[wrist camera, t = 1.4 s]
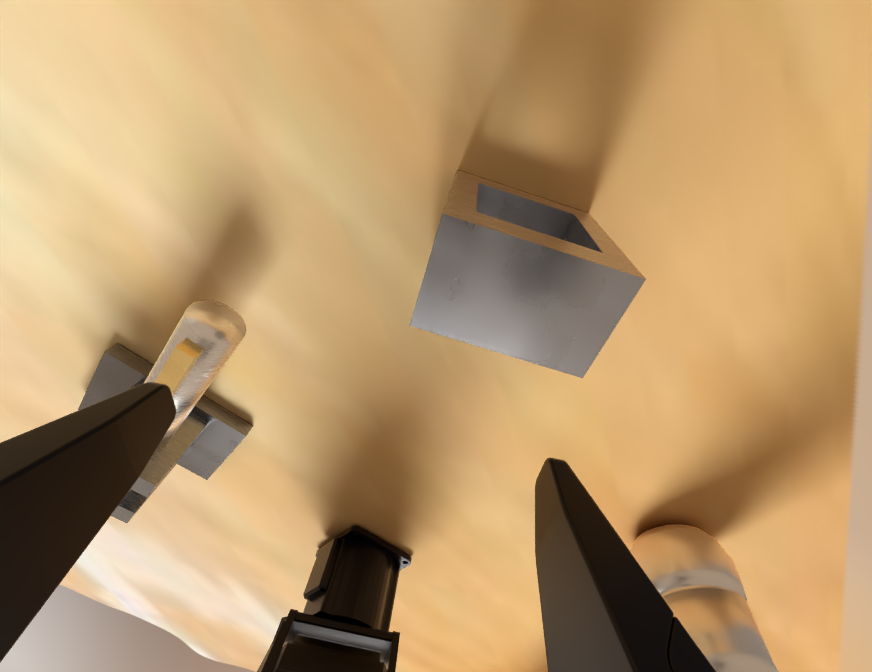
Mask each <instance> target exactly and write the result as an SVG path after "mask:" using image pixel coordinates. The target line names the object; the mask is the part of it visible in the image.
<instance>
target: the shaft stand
mask: <svg viewBox="0 0 872 672" xmlns="http://www.w3.org/2000/svg"><path fill="white" fill-rule="evenodd" d="M245 334H246V325H245V322H244V320H243V319H242V317H241V316H240V315H239V314H238V313H237V312H236V311H235V310H233V309H232V308H230V307H229V306H227V305H225V304H223V303H220V302H216V301H211V300H201V301H196V302H194V303H192V304H190V305H189V306H188V307H187V309H186V311H185V312H184V314H183V316H182V318H181V319H180V321H179V323H178V324H177V326H176V328H175V330H174V331H173V333H172V335H171V337H170V338H169V340H168V342H167V344H166V345H165V347H164V349H163V351H162V352H161V354H160V356H159V358H158V359H157V361H156V363H155V364H154V365H152V364H151V363H149V362H147V361H146V360H144V359H143V358H141V357H139V356H138V355H136V354H134V353H133V352H131V351H129V350H128V349H126V348H125V347H123V346H121V345H120V344H118V343H117V344H115V345H114V346H112V347H111V348H110V349H108V350H107V351H105V352H104V354H103V357H102V359H101V361H100V363H99V365H98V367H97V370H96V372H95V374H94V376H93V378H92V380H91V383H90V385H89V387H88V389H87V391H86V393H85V396H84V398H83V400H82V402H81V404H80V406H79V409H78V410H81V409H84V408H86V407H88V406H91V405H93V404H96V403H98V402H101V401H103V400H105V399H108V398H110V397H113V396H115V395H118V394H120V393H122V392H125V391H127V390H130V389H132V388H134V387H137V386H139V385H142V384H144V383H147V382H155V383H160V384H165V385H167V386H168V387H169V388H170V390H171V393H172V396H173V400H174V403H175V407H176V416H175V419H174V421H173V423H172V424H171V426H170V428H169V429H168V431H167V432H166V434H165V436H164V437H163V439H162V441H161V442H160V444H159V446H158V447H157V449H156V451H155V452H154V454H153V456H152V457H151V459H150V460H149V462H148V464H147V465H146V467H145V469H144V470H143V472H142V473H141V475H140V476H139V478H138V479H137V481H136V482H135V483H134V485H133V486H132V488H131V489H130V490H129V492H128V493H127V494H126V496H125V497H124V498H123V500H122V501H121V502H120V504H119V505H118V506H117V508H116V509H115V510H114V512H113V513H112V514H111V516H113V517H115V518H117V519H119V520H121V521H123V522H125V523H128V522H129V521H130V519H131V518H132V517H133V516H134V515H135V513H136V512H137V511H138V510H139V509H140V507H141V506H142V505H143V504H144V503H145V501H146V500H147V499H148V498H149V497H150V495H151V494H152V493H153V492H154V490H155V489H156V488H157V487H158V486H159V484H160V483H161V482H162V481H163V480H164V478H165V477H166V476H167V475H168V474H169V472H170V471H171V470H172V469H173V468H174V466H175V465H176V464H179V465H180V466H182V467H184V468H186V469H188V470H190V471H191V472H193V473H195V474H197V475H199V476H201V477H203V478H204V479H206V480H207V479H208V478H209V477H210V476H211V475H212V474H213V473H214V471H215V470H216V469H217V468H218V467H219V466H220V465H221V464H222V462H223V461H224V460H225V459H226V458H227V457H228V456H229V455H230V454H231V452H232V451H233V450H234V449H235V448H236V447H237V446H238V445H239V443H240V442H241V441H242V440H243V439H244V438H245V437H246V435H247V434H248V432H249V431H250V430H251V428H252V427H253V426H252V425H251V424H249V423H248V422H246V421H244V420H243V419H241V418H239V417H238V416H236V415H234V414H233V413H231V412H229V411H228V410H226V409H225V408H223V407H221V406H220V405H218V404H216V403H215V402H213V401H211V400H210V399H208V398H207V397H205V396H203V394H204V392H205V391H206V389H207V388H208V387H209V385H210V384H211V383H212V381H213V380H214V378H215V377H216V376H217V374H218V373H219V371H220V370H221V369H222V367H223V366H224V364H225V363H226V362H227V360H228V359H229V357H230V356H231V355H232V353H233V352H234V350H235V349H236V348H237V346H238V345H239V343H240V342H241V341H242V339H243V338H244V336H245Z"/></svg>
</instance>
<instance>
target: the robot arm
mask: <svg viewBox="0 0 872 672" xmlns="http://www.w3.org/2000/svg"><path fill="white" fill-rule="evenodd" d="M175 416H176V407H175V403H174V400H173V396H172V393H171V390H170V388H169V387H168V386H167V385H165V384H160V383H155V382H147V383H144V384H142V385H139V386H137V387H134V388H132V389H130V390H127V391H125V392H122V393H120V394H118V395H115V396H113V397H110V398H108V399H105V400H103V401H101V402H98V403H96V404H93V405H91V406H88V407H86V408H84V409H81V410H79V411H76V412H74V413H72V414H69V415H67V416H64V417H62V418H59V419H57V420H55V421H52V422H50V423H47V424H45V425H43V426H40V427H38V428H35V429H33V430H30V431H28V432H26V433H23V434H21V435H18V436H16V437H13V438H11V439H9V440H6V441H4V442H1V443H0V662H1V661H2V660H3V658H4V657H5V656H6V654H7V653H8V652H9V650H10V649H11V648H12V646H13V645H14V644H15V642H16V641H17V640H18V638H19V637H20V636H21V634H22V633H23V632H24V630H25V629H26V628H27V626H28V625H29V624H30V622H31V621H32V620H33V618H34V617H35V616H36V614H37V613H38V612H39V610H40V609H41V607H42V606H43V605H44V604H45V602H46V601H47V600H48V598H49V597H50V596H51V594H52V593H53V592H54V590H55V589H56V588H57V586H58V585H59V584H60V582H61V581H62V580H63V578H64V577H65V576H66V574H67V573H68V572H69V570H70V569H71V568H72V566H73V565H74V564H75V562H76V561H77V560H78V558H79V557H80V556H81V554H82V553H83V552H84V550H85V549H86V548H87V546H88V545H89V544H90V542H91V541H92V540H93V538H94V537H95V536H96V534H97V533H98V532H99V530H100V529H101V528H102V526H103V525H104V524H105V522H106V521H107V520H108V518H109V517H110V516H111V514H112V513H113V512H114V510H115V509H116V508H117V506H118V505H119V504H120V502H121V501H122V500H123V498H124V497H125V496H126V494H127V493H128V492H129V490H130V489H131V488H132V486H133V485H134V483H135V482H136V481H137V479H138V478H139V476H140V475H141V473H142V472H143V470H144V469H145V467H146V465H147V464H148V462H149V460H150V459H151V457H152V456H153V454H154V452H155V451H156V449H157V447H158V446H159V444H160V442H161V441H162V439H163V437H164V436H165V434H166V432H167V431H168V429H169V428H170V426H171V424H172V423H173V421H174V419H175ZM535 555H536V566H537V575H538V584H539V593H540V602H541V611H542V620H543V629H544V638H545V647H546V656H547V665H548V672H716V670H715V669H714V668H713V666H712V665H711V664H710V662H709V661H708V660H707V658H706V657H705V655H704V654H703V653H702V651H701V650H700V649H699V647H698V646H697V645H696V643H695V642H694V641H693V639H692V638H691V636H690V635H689V634H688V632H687V631H686V629H685V628H684V627H683V625H682V624H681V622H680V621H679V620H678V618H677V617H675V616H674V613H673V611H672V610H671V608H670V607H669V606H668V604H667V603H666V601H665V600H664V599H663V597H662V596H661V594H660V593H659V592H658V590H657V589H656V587H655V586H654V585H653V583H652V582H651V580H650V579H649V578H648V576H647V575H646V573H645V572H644V570H643V569H642V568H641V566H640V565H639V563H638V562H637V561H636V559H635V558H634V556H633V555H632V554H631V552H630V551H629V549H628V548H627V547H626V545H625V544H624V542H623V541H622V540H621V538H620V537H619V535H618V534H617V532H616V531H615V530H614V528H613V527H612V525H611V524H610V523H609V521H608V520H607V518H606V517H605V516H604V514H603V513H602V511H601V510H600V509H599V507H598V506H597V504H596V503H595V502H594V500H593V499H592V497H591V496H590V494H589V493H588V492H587V490H586V489H585V487H584V486H583V485H582V483H581V482H580V480H579V479H578V478H577V476H576V475H575V473H574V472H573V471H572V469H571V468H570V466H569V465H568V464H567V463H566V462H565V461H564V460H560V459H555V458H547V459H546V461H545V462H544V465H543V467H542V469H541V471H540V473H539V475H538V477H537V480H536V484H535ZM316 557H317V558H316V561H315V564H314V566H313V569H312V572H311V575H310V578H309V580H308V583H307V586H306V589H305V591H304V598H305V599H307V603H306V606H305V609H304V612H303V613H301V612H298V610H293V609H291V610H290V612H289V614H288V617H283V618H282V619H281V622H280V625H279V627H278V630H277V632H276V635H275V637H274V640H273V642H272V644H271V646H270V648H269V650H268V652H267V654H266V656H265V658H264V659H263V661H262V663H261V665H260V667H259V669H258V671H257V672H395V669H396V661H397V652H398V644H399V636H400V632H395V631H393V632H389V627H390V621H391V615H392V610H393V604H394V598H395V593H396V587H397V582H398V576H399V570H401V569H403V568H405V567H407V566H409V565H410V564H411V557H410V556H408V555H407V554H405V553H403V552H402V551H400V550H398V549H396V548H395V547H393V546H391V545H389V544H388V543H386V542H384V541H382V540H381V539H379V538H377V537H376V536H374V535H372V534H370V533H369V532H367V531H365V530H363V529H362V528H360V527H358V526H352V527H351V528H349V529H348V530H346V531H345V532H343V533H342V534H340V535H339V536H337V537H336V538H334V539H332V540H331V541H329V542H328V543H327V544H325V545H324V546H322V547H321V548H320V549H318V550H317V553H316ZM673 616H674V617H673Z"/></svg>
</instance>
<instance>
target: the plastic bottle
mask: <svg viewBox="0 0 872 672" xmlns="http://www.w3.org/2000/svg"><path fill="white" fill-rule="evenodd" d="M630 552H631V554H632V555H633V556H634V558H635V559H636V561H637V562H638V563H639V565H640V566H641V568H642V569H643V570H644V572H645V573H646V575H647V576H648V578H649V579H650V580H651V582H652V583H653V585H654V586H655V587H656V589H657V590H658V592H659V593H660V594H661V596H662V597H663V599H664V600H665V601H666V603H667V604H668V606H669V607H670V608H671V610H672V611H673V613H674V616H675V617H677V618H678V620H679V621H680V622H681V624H682V625H683V627H684V628H685V629H686V631H687V632H688V634H689V635H690V636H691V638H692V639H693V641H694V642H695V643H696V645H697V646H698V647H699V649H700V650H701V651H702V653H703V654H704V655H705V657H706V658H707V660H708V661H709V662H710V664H711V665H712V666H713V668H714V669H715V670H716V672H778V670H777V668H776V666H775V665H774V663H773V661H772V659H771V656H770V654H769V652H768V649H767V647H766V645H765V643H764V640H763V638H762V636H761V633H760V631H759V629H758V627H757V624H756V622H755V620H754V617H753V615H752V613H751V611H750V608H749V606H748V604H747V598H746V595H745V591H744V588H743V585H742V582H741V580H740V577H739V575H738V572H737V570H736V567H735V565H734V562H733V560H732V559H731V558H730V556H729V555H728V554H727V552H726V551H725V550H724V548H723V547H722V546H721V544H720V543H719V542H718V541H717V540H716V539H715V538H714V537H712V536H710V535H709V534H707V533H706V532H704V531H703V530H701V529H699V528H697V527H694V526H690V525H682V524H671V525H663V526H659V527H655V528H652V529H650V530H648V531H646V532H644V533H642V534H641V535H639V536H638V537H637V538H636V539H635V541H634V543H633V545H632V548H631V551H630ZM674 616H673V617H674Z"/></svg>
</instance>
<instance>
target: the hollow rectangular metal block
mask: <svg viewBox="0 0 872 672" xmlns="http://www.w3.org/2000/svg"><path fill="white" fill-rule="evenodd" d="M645 280H646V279H645V278H644V276H643V275H642V274H641V273H640V272H639V271H638V269H637V268H636V267H635V266H634V265H633V264H632V263H631V261H630V260H629V259H628V258H627V257H626V256H625V254H624V253H623V252H622V251H621V250H620V249H619V248H618V246H617V245H616V244H615V243H614V242H613V241H612V239H611V238H610V237H609V236H608V235H607V234H606V233H605V231H604V230H603V229H602V228H601V227H600V226H599V224H598V223H597V222H596V221H595V220H594V219H593V218H592V216H591V215H590V214H589V213H586V212H583V211H580V210H577V209H574V208H571V207H568V206H565V205H562V204H559V203H556V202H553V201H550V200H547V199H544V198H541V197H538V196H535V195H532V194H529V193H526V192H523V191H520V190H517V189H514V188H511V187H508V186H505V185H502V184H499V183H496V182H493V181H490V180H487V179H484V178H481V177H478V176H475V175H472V174H469V173H466V172H463V171H460V170H457V173H456V176H455V179H454V182H453V185H452V188H451V191H450V194H449V197H448V199H447V202H446V205H445V208H444V211H443V214H442V217H441V221H440V224H439V228H438V231H437V234H436V238H435V241H434V244H433V248H432V251H431V255H430V258H429V261H428V265H427V268H426V272H425V275H424V278H423V282H422V285H421V288H420V292H419V295H418V299H417V302H416V305H415V309H414V312H413V315H412V319H411V322H410V326H412V327H416V328H419V329H422V330H425V331H429V332H432V333H435V334H439V335H442V336H445V337H449V338H452V339H455V340H458V341H462V342H465V343H468V344H472V345H475V346H478V347H482V348H485V349H488V350H491V351H495V352H498V353H501V354H505V355H508V356H511V357H515V358H518V359H521V360H524V361H528V362H531V363H534V364H538V365H541V366H544V367H547V368H551V369H554V370H557V371H561V372H564V373H567V374H571V375H574V376H577V377H580V378H583V377H584V375H585V374H586V372H587V371H588V369H589V367H590V366H591V364H592V363H593V361H594V360H595V358H596V356H597V355H598V353H599V352H600V350H601V349H602V347H603V346H604V344H605V342H606V341H607V339H608V338H609V336H610V335H611V333H612V331H613V330H614V328H615V327H616V325H617V324H618V322H619V320H620V319H621V317H622V316H623V314H624V313H625V311H626V310H627V308H628V306H629V305H630V303H631V302H632V300H633V299H634V297H635V295H636V294H637V292H638V291H639V289H640V288H641V286H642V285H643V283H644V281H645Z"/></svg>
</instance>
